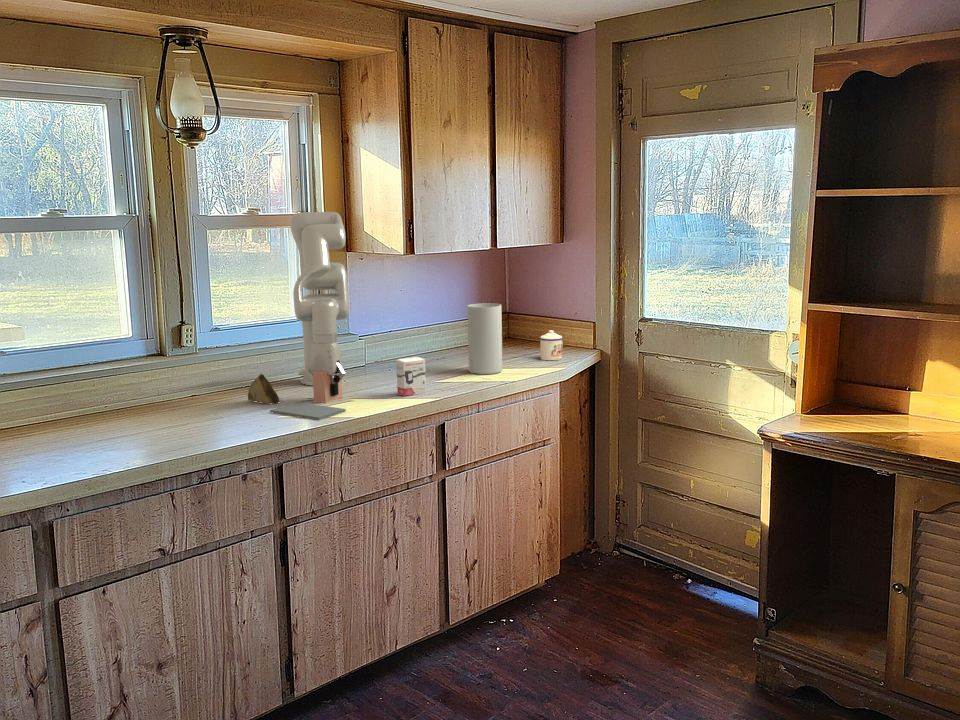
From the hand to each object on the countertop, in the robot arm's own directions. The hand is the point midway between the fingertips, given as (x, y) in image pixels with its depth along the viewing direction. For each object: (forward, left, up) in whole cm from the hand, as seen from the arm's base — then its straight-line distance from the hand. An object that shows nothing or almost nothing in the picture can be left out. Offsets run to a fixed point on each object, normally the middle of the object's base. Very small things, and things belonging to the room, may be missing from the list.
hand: (327, 393), depth 281 cm
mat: (+6, -16, -2) cm, 17 cm away
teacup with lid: (+31, +100, -2) cm, 105 cm away
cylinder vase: (+21, +64, -2) cm, 67 cm away
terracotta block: (0, 0, -2) cm, 2 cm away
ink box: (+19, +20, -2) cm, 28 cm away
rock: (-17, -12, -2) cm, 21 cm away
